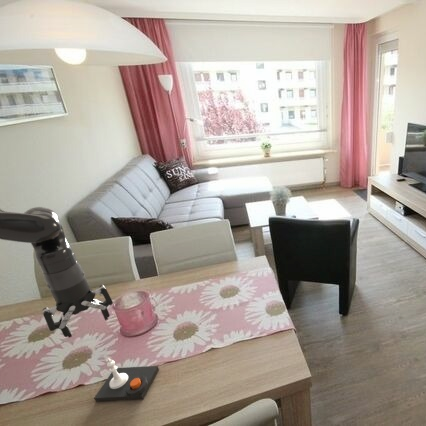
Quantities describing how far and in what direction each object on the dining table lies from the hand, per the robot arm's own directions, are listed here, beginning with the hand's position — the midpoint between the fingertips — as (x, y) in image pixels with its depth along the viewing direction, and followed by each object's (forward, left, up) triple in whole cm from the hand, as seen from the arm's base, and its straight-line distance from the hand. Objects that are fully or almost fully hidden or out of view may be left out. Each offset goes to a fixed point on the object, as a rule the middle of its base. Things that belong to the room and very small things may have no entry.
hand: (88, 326), depth 83 cm
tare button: (+4, -10, -20) cm, 23 cm away
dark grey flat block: (+3, -5, -23) cm, 24 cm away
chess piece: (+1, -3, -22) cm, 22 cm away
